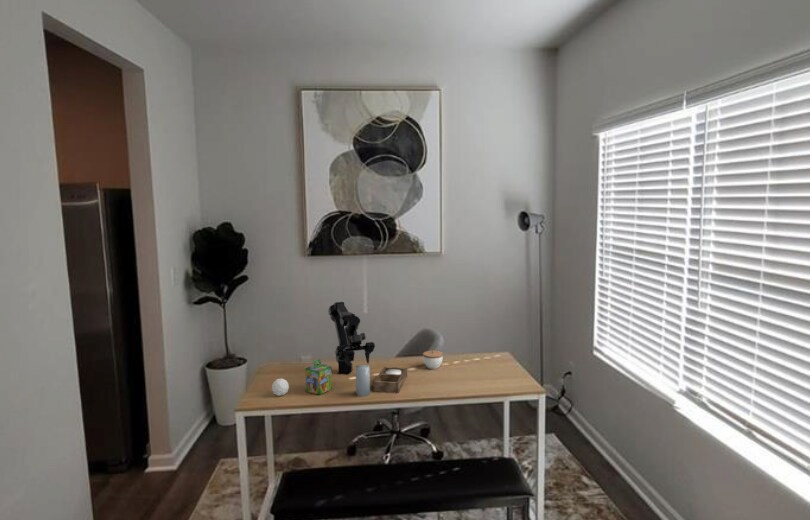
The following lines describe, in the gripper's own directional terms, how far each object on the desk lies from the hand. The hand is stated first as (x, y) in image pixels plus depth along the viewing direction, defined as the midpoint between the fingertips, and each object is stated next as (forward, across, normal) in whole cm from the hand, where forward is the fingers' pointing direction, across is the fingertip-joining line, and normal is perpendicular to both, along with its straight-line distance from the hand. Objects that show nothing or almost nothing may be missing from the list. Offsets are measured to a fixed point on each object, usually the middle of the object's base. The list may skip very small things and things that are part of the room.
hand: (358, 364), depth 226 cm
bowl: (+4, +19, +12) cm, 23 cm away
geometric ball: (+3, -36, +15) cm, 39 cm away
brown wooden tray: (+8, +16, +9) cm, 21 cm away
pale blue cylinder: (+13, 0, +4) cm, 14 cm away
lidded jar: (-2, +46, +20) cm, 50 cm away
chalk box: (+4, -18, +14) cm, 23 cm away
